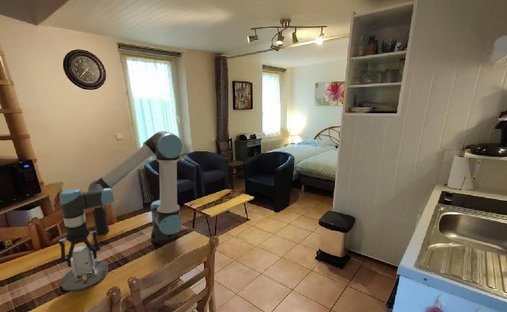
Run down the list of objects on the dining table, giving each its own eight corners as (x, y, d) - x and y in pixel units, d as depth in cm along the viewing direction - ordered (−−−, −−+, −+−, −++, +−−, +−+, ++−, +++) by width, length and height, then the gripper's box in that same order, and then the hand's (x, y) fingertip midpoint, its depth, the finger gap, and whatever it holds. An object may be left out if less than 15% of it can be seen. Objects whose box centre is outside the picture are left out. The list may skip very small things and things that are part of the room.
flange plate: (106, 259, 123) (104, 249, 122) (109, 279, 109) (108, 269, 108) (62, 273, 113) (60, 263, 112) (60, 298, 99) (57, 287, 97)
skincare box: (75, 275, 108) (70, 252, 105) (80, 269, 112) (75, 246, 109) (90, 273, 109) (85, 250, 106) (94, 266, 113) (90, 244, 110)
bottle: (100, 236, 144) (95, 206, 140) (93, 233, 147) (88, 203, 142) (111, 230, 150) (106, 201, 146) (104, 228, 153) (100, 199, 148)
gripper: (101, 214, 113) (108, 256, 119) (47, 226, 102) (57, 272, 107) (102, 220, 107) (109, 264, 113) (45, 234, 96) (56, 282, 101)
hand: (84, 268), depth 110 cm, fingers closed on skincare box, 7 cm apart
